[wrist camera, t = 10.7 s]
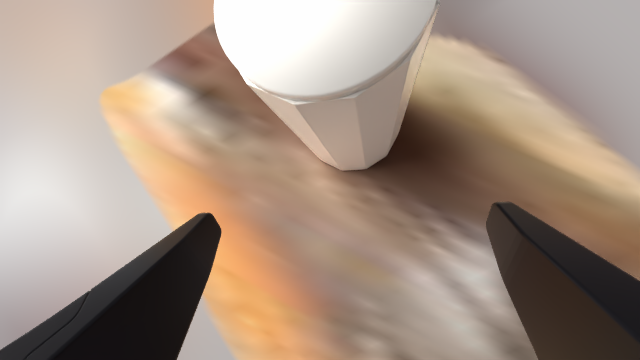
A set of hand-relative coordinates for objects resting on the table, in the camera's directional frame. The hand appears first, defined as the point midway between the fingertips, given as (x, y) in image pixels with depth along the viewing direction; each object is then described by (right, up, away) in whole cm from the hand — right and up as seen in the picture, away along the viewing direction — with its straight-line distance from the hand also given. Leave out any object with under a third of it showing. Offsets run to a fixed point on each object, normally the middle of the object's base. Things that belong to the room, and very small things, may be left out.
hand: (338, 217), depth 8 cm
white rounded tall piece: (+2, +5, +11) cm, 12 cm away
